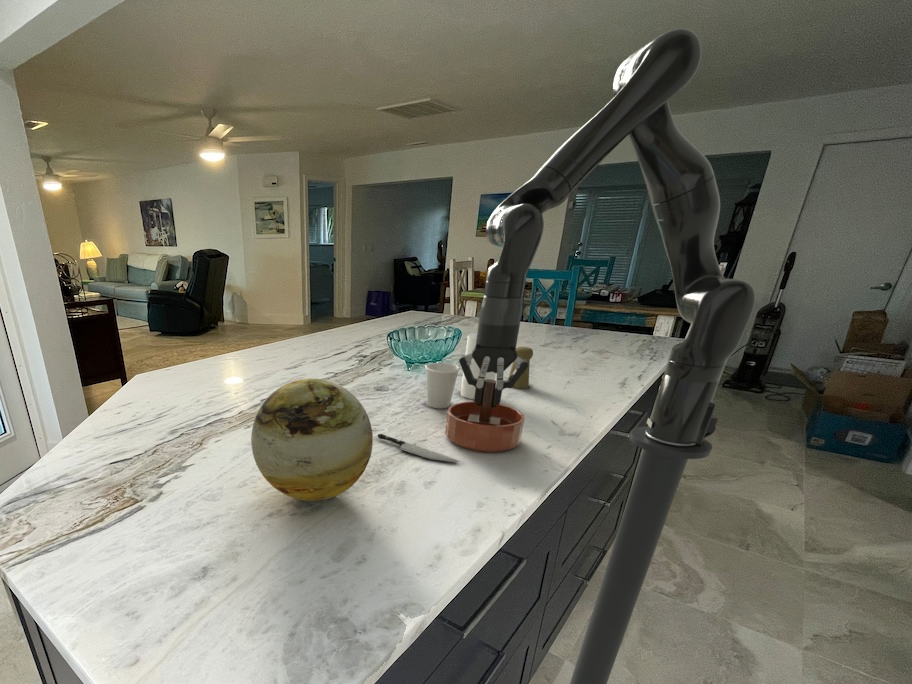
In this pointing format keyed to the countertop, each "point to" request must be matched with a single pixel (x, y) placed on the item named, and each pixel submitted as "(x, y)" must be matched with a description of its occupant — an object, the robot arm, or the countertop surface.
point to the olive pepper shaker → (524, 378)
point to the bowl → (484, 428)
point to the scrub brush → (486, 406)
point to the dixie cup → (440, 384)
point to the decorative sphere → (312, 439)
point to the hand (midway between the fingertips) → (486, 404)
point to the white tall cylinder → (472, 370)
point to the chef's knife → (418, 450)
